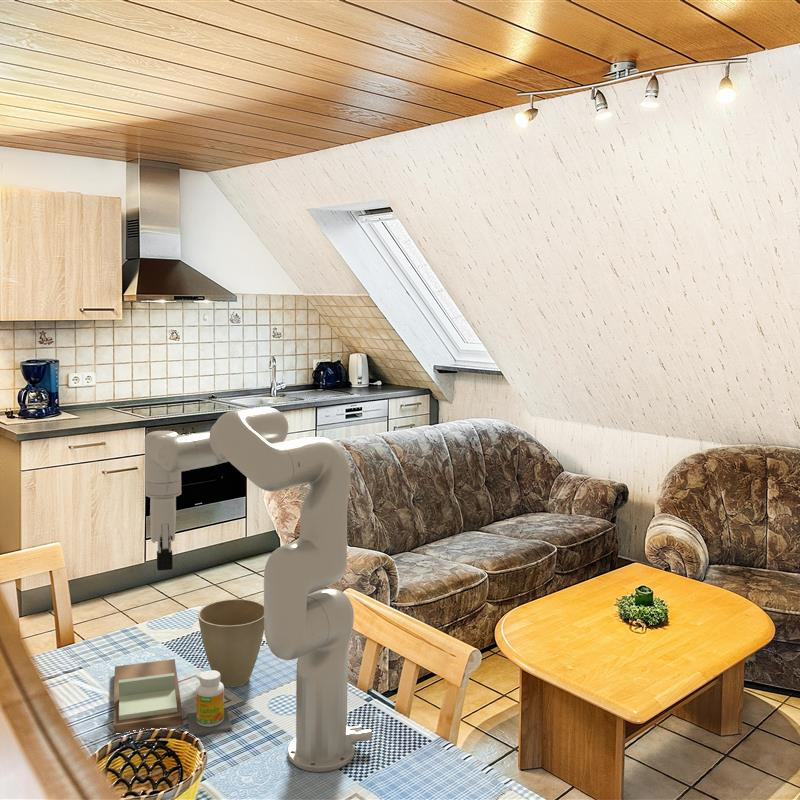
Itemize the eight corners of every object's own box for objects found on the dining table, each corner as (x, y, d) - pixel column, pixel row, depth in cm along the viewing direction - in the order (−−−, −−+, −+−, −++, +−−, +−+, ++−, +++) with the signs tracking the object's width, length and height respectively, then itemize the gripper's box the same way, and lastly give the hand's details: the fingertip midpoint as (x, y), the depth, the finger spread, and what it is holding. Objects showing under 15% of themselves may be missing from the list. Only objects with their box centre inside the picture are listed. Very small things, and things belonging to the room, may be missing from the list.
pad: (226, 710, 164) (226, 707, 164) (231, 730, 157) (231, 727, 157) (187, 716, 162) (186, 713, 161) (190, 736, 154) (190, 734, 154)
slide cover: (174, 690, 168) (174, 672, 167) (177, 711, 159) (176, 693, 159) (119, 698, 164) (118, 680, 163) (119, 720, 156) (118, 701, 155)
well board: (174, 667, 183) (174, 658, 182) (182, 724, 158) (182, 715, 158) (114, 674, 178) (114, 666, 178) (113, 735, 154) (113, 725, 154)
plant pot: (186, 691, 172) (185, 620, 170) (217, 661, 186) (217, 596, 184) (250, 700, 168) (249, 629, 166) (277, 669, 183) (277, 603, 181)
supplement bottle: (196, 729, 156) (196, 682, 155) (196, 715, 161) (195, 669, 160) (224, 725, 157) (224, 679, 156) (223, 712, 162) (223, 667, 161)
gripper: (144, 481, 179) (146, 559, 181) (146, 497, 165) (148, 582, 167) (178, 479, 181) (180, 556, 183) (183, 494, 167) (184, 578, 169)
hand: (164, 568), depth 175 cm, fingers closed
